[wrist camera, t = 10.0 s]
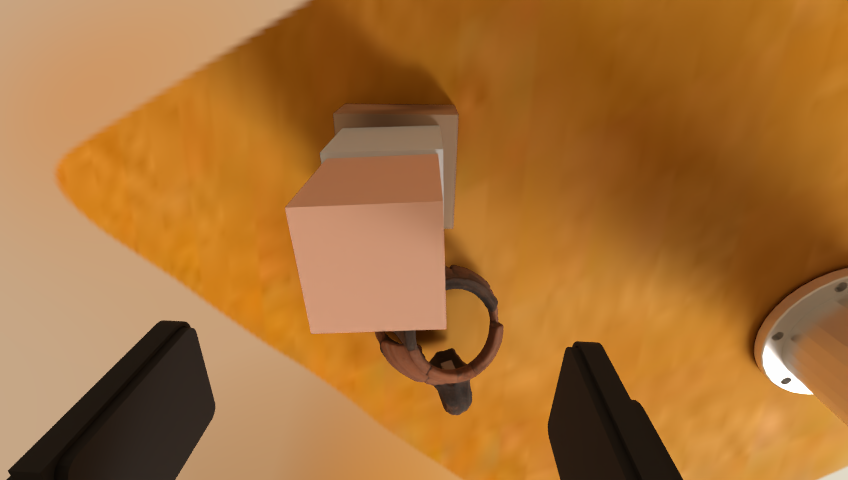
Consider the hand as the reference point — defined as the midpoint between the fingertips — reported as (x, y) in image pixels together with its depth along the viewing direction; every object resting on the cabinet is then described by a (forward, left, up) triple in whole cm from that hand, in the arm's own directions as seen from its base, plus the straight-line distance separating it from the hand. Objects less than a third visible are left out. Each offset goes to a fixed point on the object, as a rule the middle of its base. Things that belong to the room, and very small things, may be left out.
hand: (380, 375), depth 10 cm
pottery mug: (-2, +13, -20) cm, 24 cm away
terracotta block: (+1, 0, -10) cm, 10 cm away
